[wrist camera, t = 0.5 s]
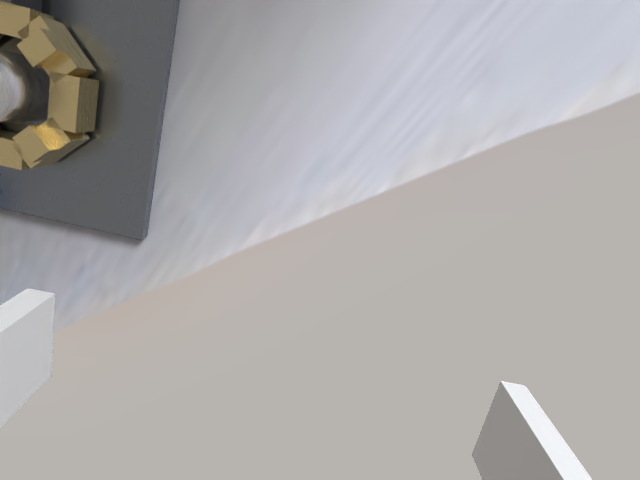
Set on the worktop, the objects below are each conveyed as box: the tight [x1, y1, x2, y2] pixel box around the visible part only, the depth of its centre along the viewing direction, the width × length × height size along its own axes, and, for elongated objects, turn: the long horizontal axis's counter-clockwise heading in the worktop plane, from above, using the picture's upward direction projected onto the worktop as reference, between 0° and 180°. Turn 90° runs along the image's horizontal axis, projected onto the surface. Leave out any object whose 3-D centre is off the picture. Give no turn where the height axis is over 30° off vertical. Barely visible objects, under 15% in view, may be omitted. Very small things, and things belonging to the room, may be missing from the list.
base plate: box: [0, 0, 179, 240], centre depth 31 cm, size 20×20×8 cm
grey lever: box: [0, 0, 99, 170], centre depth 30 cm, size 22×11×4 cm, turn 166°
